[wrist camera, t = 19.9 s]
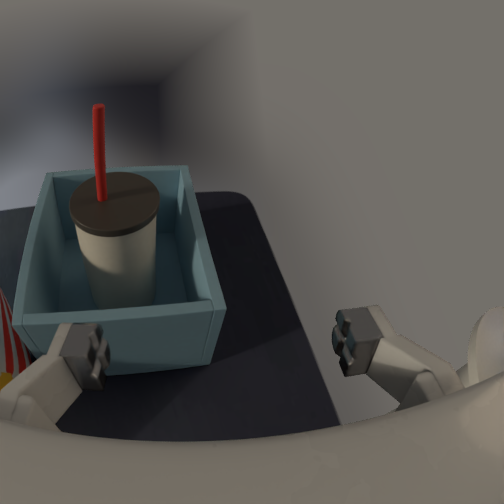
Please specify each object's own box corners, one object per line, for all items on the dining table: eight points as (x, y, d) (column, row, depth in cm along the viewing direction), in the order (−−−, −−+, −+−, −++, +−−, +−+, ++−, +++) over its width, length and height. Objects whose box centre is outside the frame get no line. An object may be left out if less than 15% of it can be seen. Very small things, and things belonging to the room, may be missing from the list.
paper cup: (153, 261, 30) (164, 86, 18) (162, 317, 26) (173, 127, 14) (90, 266, 28) (69, 90, 16) (90, 323, 24) (45, 134, 12)
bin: (179, 232, 35) (187, 165, 29) (210, 364, 25) (226, 308, 19) (60, 240, 30) (46, 172, 24) (52, 378, 21) (10, 325, 14)
